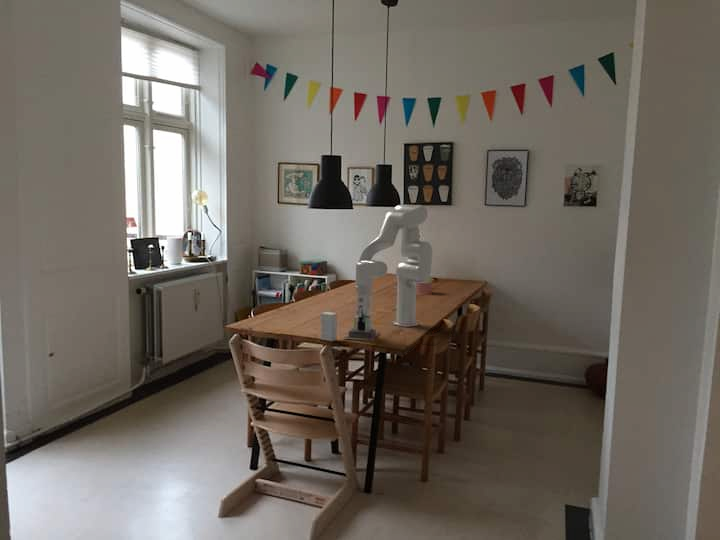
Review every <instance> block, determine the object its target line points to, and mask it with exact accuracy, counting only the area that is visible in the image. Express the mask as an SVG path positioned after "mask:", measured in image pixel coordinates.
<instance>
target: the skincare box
mask: <svg viewBox="0 0 720 540" xmlns="http://www.w3.org/2000/svg"><path fill="white" fill-rule="evenodd" d="M320 314H321V315H320V316H321V317H320V340H322V341H327V342H333V341H336V340H338V338H337V337H338V313H336V312H330V311H324V312H321V313H320Z"/></svg>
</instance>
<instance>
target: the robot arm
mask: <svg viewBox="0 0 720 540" xmlns="http://www.w3.org/2000/svg"><path fill="white" fill-rule="evenodd" d="M427 217H428V210H427V208H426V206H424V205H421V204H404V203H403V204H398V205H396V206H394V208H393V210H390V211H388V212H386V214H385V216H384V218H383V220H382V223H381V226H380V229H379V231H378V233H377V236H376V238H375V239H374V240H372V241H371V242H370V243H369V244H368V245H367V246H365V247H364V249H363V250H362V252H361V254H360V257H359V259H358V262H357V263H356V265H355V285H354V286H355V290H354V291H355V294H356V308H355V310H356V312H355V313H356V315H358V330H362V331H364V330H365V322H364V320H365V316H369V314H371V312H372V296H371V295H372V293H373V278H382V277H385V275H386V274H387V273H388V265H387V264H386V263H385V262H384V261H382V260H374V259H373V258H374V256H375V255H377V253H379V252H381V251H384V250H386V249H389V248H391V247H392V246H393V245H394V244H395V241H396V239H397V236H398V234H399V231H400V230H401V241H400V242H401V243H400V255H401V257H402V258H404V259H406V260H413V261H401V262H399V263H398V264H397V265H396V268H395V274H396V281H397V282H396V283H397V284H396V285H397V291H396V293H397V294H396V295H397V296H396V317H395V318H396V319H395V320H392V321H393V322H392V323H393V325H395V326H397V327H398V326H399V327H404V328H405V327H406V328H408V327H411V326H412V327H417V326H418V325H419V322H418V321H417V320H416V309H417V307H416V304H417V294H416V287H415V282H419V283H425V282H427V281H428V280H429V278H430V275H431V271H432V262H433V261H432V260H433V247H432V245H431V244H430V242H428V241H425V240H420V227H419V226H420V225H421V224H423V223H424V222H425V221H426V220H427ZM414 261H418V262H414ZM362 316H363V317H362Z"/></svg>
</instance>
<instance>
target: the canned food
mask: <svg viewBox="0 0 720 540" xmlns="http://www.w3.org/2000/svg"><path fill="white" fill-rule="evenodd" d="M432 282H433V274H430V278H429V280H428V281H427V282H425V283H419V282H414V284H415V287H416V293H417V294H416V295H424V294H427V295H432V289H433V288H432V286H433V283H432Z"/></svg>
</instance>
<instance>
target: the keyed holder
mask: <svg viewBox="0 0 720 540" xmlns="http://www.w3.org/2000/svg"><path fill="white" fill-rule="evenodd" d="M380 334H381V332H376V328H371V332H358V331H354V326H353V327H351V329H350V330H349V331H348V334H347V335H345V337H343V340H344V339H351V340H350V341H353V340H360V341H359V342H364V341H368V342H367V343H373V342H374V341H375V340H376V339H377V338H378V337H379V335H380ZM376 337H377V338H376ZM375 338H376V339H375Z"/></svg>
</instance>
